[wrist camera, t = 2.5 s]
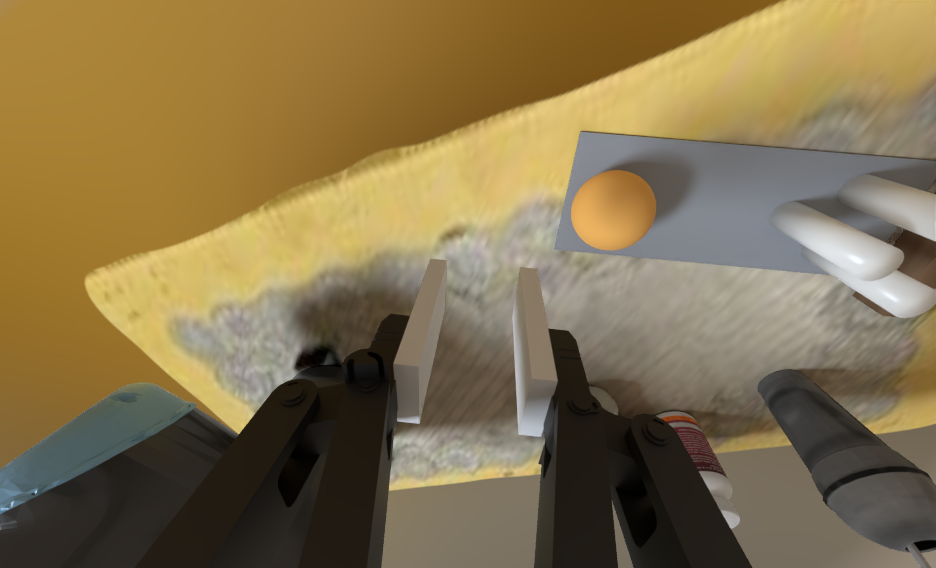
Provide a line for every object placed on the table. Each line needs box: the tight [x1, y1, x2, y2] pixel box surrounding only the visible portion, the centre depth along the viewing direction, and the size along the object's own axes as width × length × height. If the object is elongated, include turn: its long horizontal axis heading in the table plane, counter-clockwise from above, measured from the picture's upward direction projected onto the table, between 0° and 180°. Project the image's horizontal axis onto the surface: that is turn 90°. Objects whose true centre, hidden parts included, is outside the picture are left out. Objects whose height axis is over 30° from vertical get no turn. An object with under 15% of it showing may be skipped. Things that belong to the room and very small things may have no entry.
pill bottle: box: [656, 411, 740, 529], centre depth 39 cm, size 6×6×11 cm
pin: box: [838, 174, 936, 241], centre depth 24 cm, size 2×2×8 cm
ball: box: [571, 170, 656, 251], centre depth 27 cm, size 6×6×6 cm
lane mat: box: [554, 131, 936, 275], centre depth 29 cm, size 27×10×1 cm, turn 86°
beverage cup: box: [758, 370, 936, 568], centre depth 30 cm, size 7×7×20 cm
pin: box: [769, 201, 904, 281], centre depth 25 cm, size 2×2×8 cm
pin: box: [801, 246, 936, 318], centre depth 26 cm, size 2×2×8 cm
